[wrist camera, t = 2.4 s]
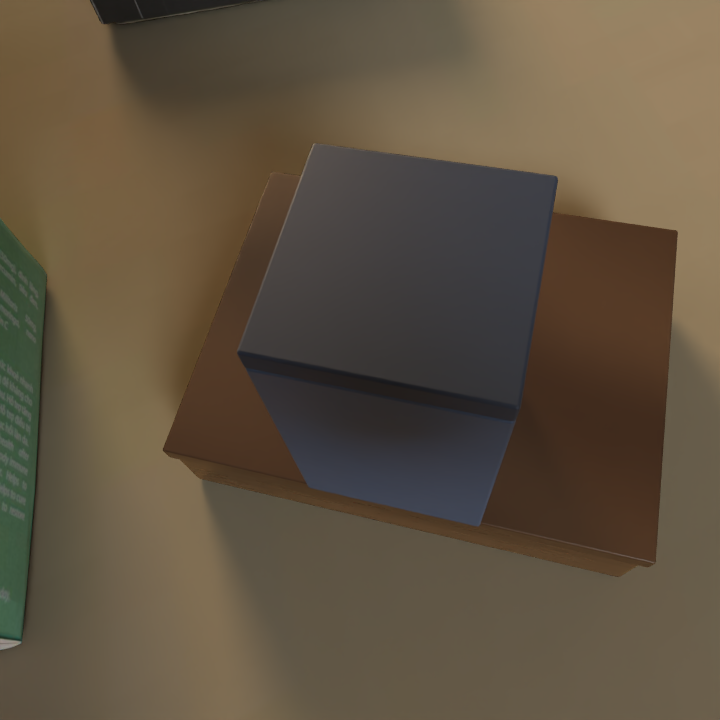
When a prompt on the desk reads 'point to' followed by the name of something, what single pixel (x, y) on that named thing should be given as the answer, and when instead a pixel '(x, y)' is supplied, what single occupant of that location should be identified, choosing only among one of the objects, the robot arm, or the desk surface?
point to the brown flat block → (537, 413)
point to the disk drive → (154, 8)
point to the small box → (401, 325)
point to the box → (18, 422)
